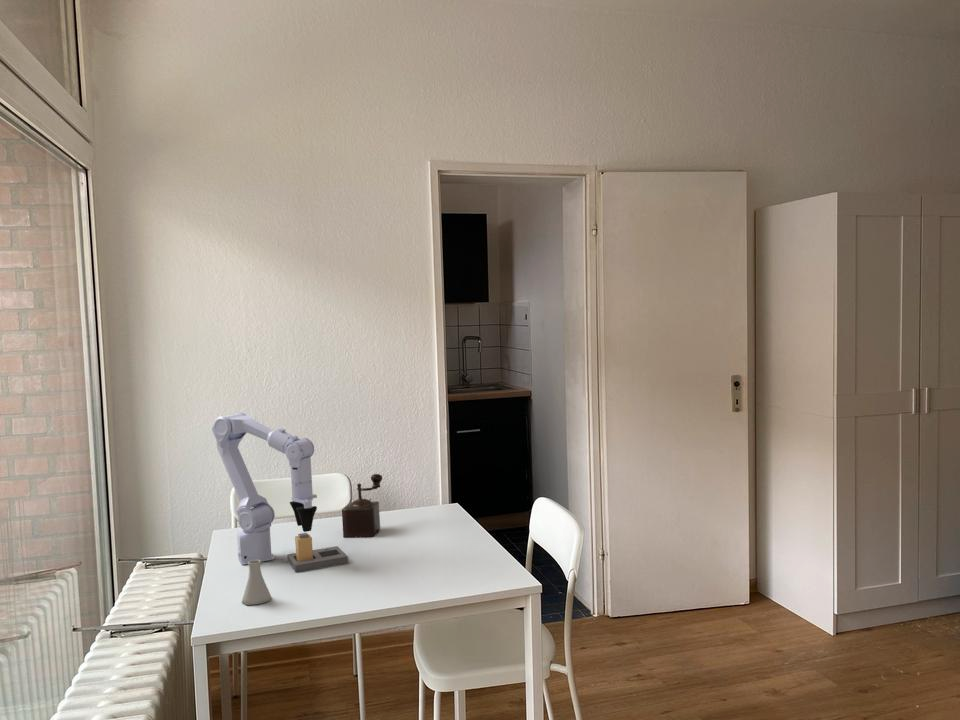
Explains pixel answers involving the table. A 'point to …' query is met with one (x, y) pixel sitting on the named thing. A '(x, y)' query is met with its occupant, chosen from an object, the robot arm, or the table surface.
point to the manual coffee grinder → (362, 514)
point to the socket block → (319, 559)
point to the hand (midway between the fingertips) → (304, 528)
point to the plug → (303, 547)
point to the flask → (255, 586)
